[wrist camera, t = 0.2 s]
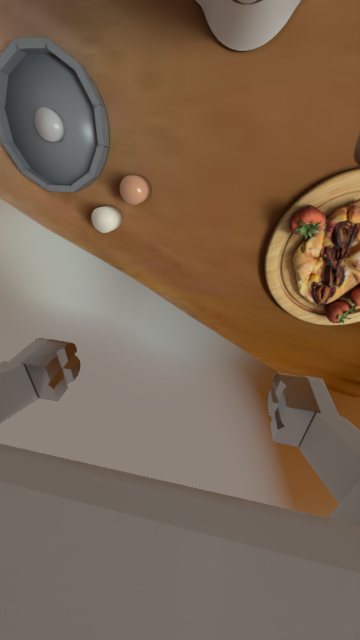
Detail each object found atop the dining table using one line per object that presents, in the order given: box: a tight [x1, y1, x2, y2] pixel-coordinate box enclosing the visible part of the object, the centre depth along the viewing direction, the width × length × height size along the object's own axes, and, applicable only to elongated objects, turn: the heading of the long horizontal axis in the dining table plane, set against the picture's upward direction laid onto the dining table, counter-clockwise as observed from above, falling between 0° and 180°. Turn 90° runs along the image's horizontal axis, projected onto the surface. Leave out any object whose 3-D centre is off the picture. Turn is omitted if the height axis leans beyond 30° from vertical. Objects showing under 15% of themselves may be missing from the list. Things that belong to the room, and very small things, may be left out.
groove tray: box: [0, 37, 110, 192], centre depth 46 cm, size 22×22×3 cm
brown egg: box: [120, 175, 152, 204], centre depth 48 cm, size 5×5×5 cm
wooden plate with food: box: [264, 168, 360, 325], centre depth 46 cm, size 32×32×8 cm
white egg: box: [91, 205, 123, 233], centre depth 52 cm, size 5×5×5 cm
